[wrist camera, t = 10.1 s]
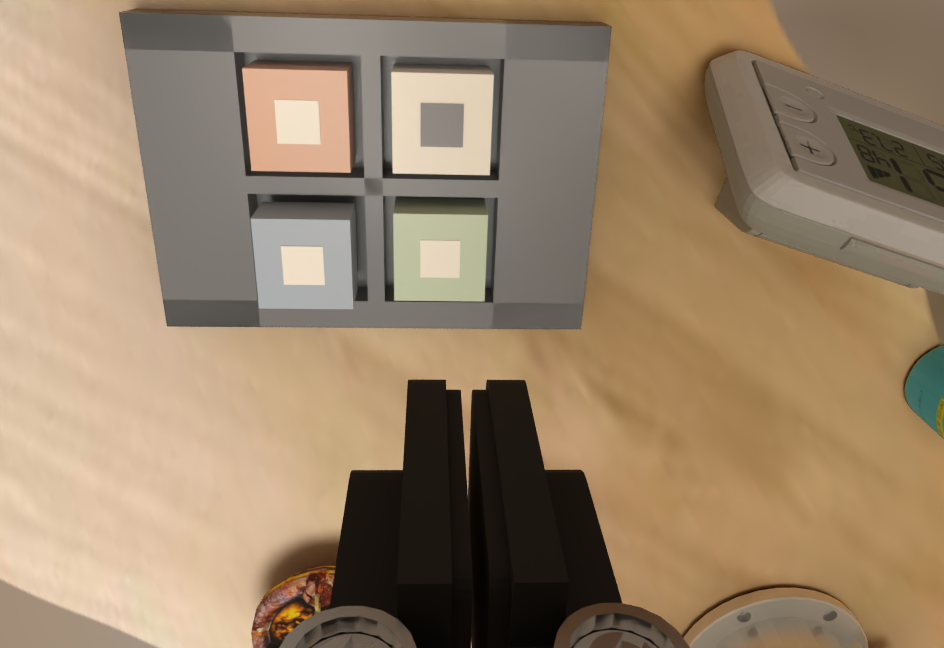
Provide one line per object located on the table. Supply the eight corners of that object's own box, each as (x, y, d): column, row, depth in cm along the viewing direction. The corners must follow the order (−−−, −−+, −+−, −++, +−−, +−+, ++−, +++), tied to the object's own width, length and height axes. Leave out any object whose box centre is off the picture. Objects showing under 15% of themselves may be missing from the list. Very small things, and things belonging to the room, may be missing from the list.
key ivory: (489, 66, 34) (493, 75, 32) (486, 161, 36) (489, 175, 34) (393, 63, 34) (391, 72, 32) (395, 159, 36) (392, 173, 34)
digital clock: (1012, 162, 38) (1207, 235, 29) (883, 309, 41) (1020, 419, 32) (756, -21, 34) (884, -9, 24) (635, 158, 37) (707, 231, 28)
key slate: (355, 203, 36) (349, 220, 33) (358, 287, 38) (353, 310, 35) (261, 201, 36) (250, 219, 33) (269, 286, 37) (258, 309, 35)
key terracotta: (352, 62, 34) (346, 71, 32) (355, 158, 36) (350, 173, 34) (254, 60, 34) (241, 68, 32) (262, 156, 36) (251, 171, 33)
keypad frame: (602, 22, 34) (611, 26, 33) (574, 312, 40) (580, 329, 39) (135, 8, 33) (118, 12, 31) (179, 308, 39) (167, 326, 37)
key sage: (484, 198, 37) (488, 215, 35) (481, 280, 39) (484, 301, 37) (395, 197, 37) (393, 214, 34) (396, 279, 39) (394, 301, 36)
